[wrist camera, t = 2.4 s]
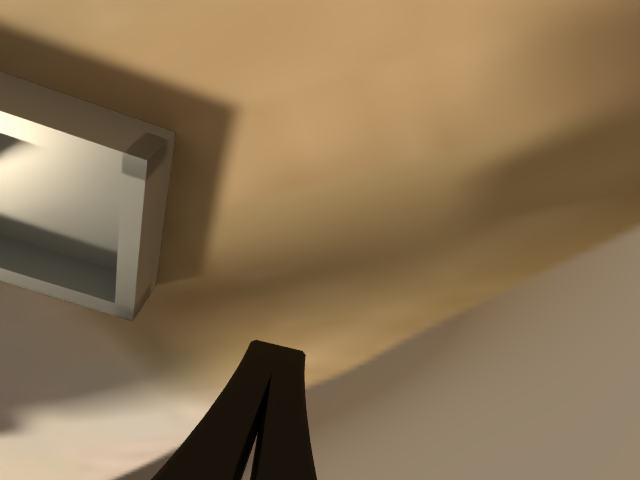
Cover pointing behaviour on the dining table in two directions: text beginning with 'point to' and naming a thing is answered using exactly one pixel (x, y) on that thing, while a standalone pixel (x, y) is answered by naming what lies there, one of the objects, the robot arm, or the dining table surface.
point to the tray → (80, 198)
